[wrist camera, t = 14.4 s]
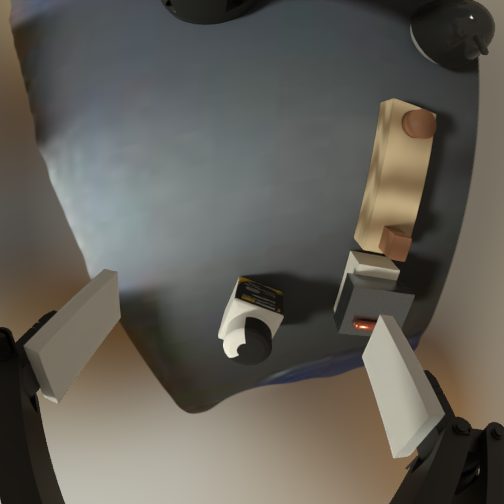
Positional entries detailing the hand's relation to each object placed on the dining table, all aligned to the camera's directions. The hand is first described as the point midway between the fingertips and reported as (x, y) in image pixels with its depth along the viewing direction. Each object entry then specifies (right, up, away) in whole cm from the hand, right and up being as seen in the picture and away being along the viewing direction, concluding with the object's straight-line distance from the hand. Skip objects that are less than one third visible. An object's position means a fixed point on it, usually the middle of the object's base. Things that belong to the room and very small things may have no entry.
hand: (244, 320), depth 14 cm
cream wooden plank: (+20, +14, +24) cm, 34 cm away
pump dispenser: (+27, +35, +16) cm, 47 cm away
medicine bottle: (+1, -5, +33) cm, 33 cm away
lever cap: (+17, -3, +26) cm, 31 cm away
